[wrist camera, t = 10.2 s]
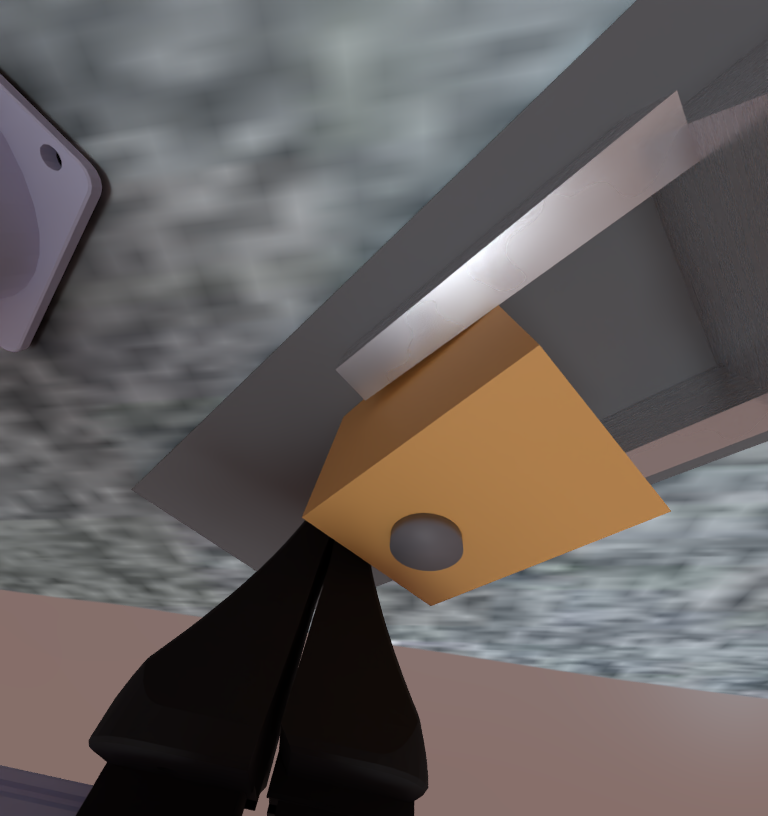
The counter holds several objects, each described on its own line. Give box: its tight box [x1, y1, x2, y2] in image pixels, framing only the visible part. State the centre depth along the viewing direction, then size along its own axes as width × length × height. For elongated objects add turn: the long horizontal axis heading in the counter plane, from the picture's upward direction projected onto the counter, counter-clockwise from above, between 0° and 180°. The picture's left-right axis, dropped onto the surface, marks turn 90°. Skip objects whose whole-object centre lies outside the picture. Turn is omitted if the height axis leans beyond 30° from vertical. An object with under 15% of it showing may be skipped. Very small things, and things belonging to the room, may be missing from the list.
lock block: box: [302, 305, 671, 606], centre depth 8 cm, size 4×6×5 cm
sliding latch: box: [336, 37, 768, 477], centre depth 7 cm, size 8×11×4 cm
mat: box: [132, 0, 768, 609], centre depth 11 cm, size 12×27×1 cm, turn 130°
